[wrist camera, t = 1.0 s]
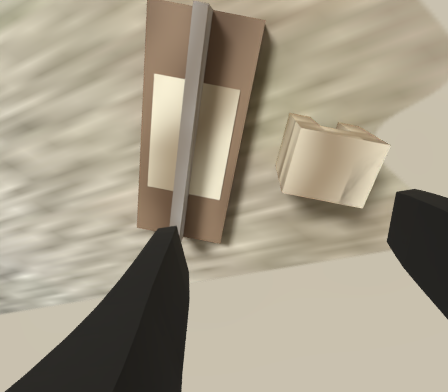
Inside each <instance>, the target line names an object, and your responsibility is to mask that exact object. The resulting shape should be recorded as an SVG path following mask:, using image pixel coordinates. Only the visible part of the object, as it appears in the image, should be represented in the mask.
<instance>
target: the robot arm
mask: <svg viewBox="0 0 448 392" xmlns="http://www.w3.org/2000/svg"><path fill="white" fill-rule="evenodd" d="M387 243H388V244H389V246H390V248H391V249H392V251H393V252H394V254H395V256H396V257H397V259H398V260H399V261H400V263H401V265H402V266H403V268H404V269H405V270H406V271H407V272H408V273H409V275H410V276H411V277H412V278H413V280H414V281H415V282H416V283H417V284H418V285H419V287H420V288H421V289H422V290H423V291H424V292H425V294H426V295H427V296H428V297H429V298H430V299H431V300H432V302H433V303H434V304H435V305H436V306H437V307H438V309H439V310H440V311H441V312H442V313H443V314H444V316H445V317H446V318H447V319H448V198H446V197H443V196H440V195H436V194H433V193H429V192H426V191H421V190H417V189H412V190H405V191H399V192H396V196H395V201H394V207H393V212H392V217H391V222H390V228H389V233H388V238H387ZM188 310H189V271H188V267H187V263H186V259H185V256H184V252H183V248H182V244H181V240H180V236H179V233H178V229H177V226H170V227H164V228H158V229H157V230H156V232H155V233H154V234H153V236H152V237H151V238H150V240H149V241H148V243H147V244H146V245H145V247H144V248H143V250H142V251H141V252H140V254H139V255H138V256H137V258H136V259H135V260H134V262H133V263H132V264H131V266H130V267H129V268H128V270H127V271H126V272H125V274H124V275H123V276H122V277H121V279H120V280H119V281H118V282H117V283H116V285H115V286H114V287H113V288H112V289H111V291H110V292H109V293H108V294H107V295H106V297H105V298H104V299H103V300H102V301H101V302H100V303H99V305H98V306H97V307H96V308H95V309H94V310H93V311H92V312H91V313H90V314H89V315H88V316H87V317H86V318H85V319H84V320H83V321H82V323H80V325H78V327H76V328H75V329H74V331H72V332H71V333H70V334H69V335H68V336H67V337H66V338H65V339H64V340H63V341H62V342H61V343H60V344H59V345H58V346H56V347H55V348H54V349H53V350H52V351H51V352H50V353H49V354H48V355H47V356H45V357H44V358H43V359H42V360H41V361H40V362H39V363H38V364H37V365H36V366H34V367H33V368H32V369H31V370H30V371H29V372H28V373H27V374H25V375H24V376H23V377H22V378H21V379H20V380H18V381H17V382H16V383H15V384H14V385H12V386H11V387H10V388H9V389H8V390H6V391H5V392H181V385H182V371H183V361H184V351H185V341H186V331H187V320H188Z"/></svg>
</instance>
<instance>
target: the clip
mask: <svg viewBox="0 0 448 392" xmlns="http://www.w3.org/2000/svg"><path fill="white" fill-rule="evenodd" d="M390 146H391V145H389V144H388V143H386V142H384V141H383V140H381V139H379V138H377V137H376V136H374V135H372V134H371V133H369V132H367V131H366V130H364V129H362V128H361V127H359V126H354V125H349V124H344V123H339V122H338V124H337V127H336V129H334V128H329V127H324V126H320V125H319V124H317V123H316V122H315V121H314V120H313V119H312V118H311V117H308V116H303V115H297V114H292V113H289V117H288V121H287V124H286V128H285V132H284V136H283V139H282V143H281V147H280V150H279V154H278V158H277V162H276V165H275V166H276V170H277V174H278V178H279V183H280V187H281V191H282V193H285V194H291V195H296V196H301V197H306V198H311V199H316V200H321V201H327V202H332V203H337V204H342V205H347V206H352V207H358V208H363V206H364V204H365V202H366V200H367V197H368V195H369V193H370V191H371V188H372V186H373V184H374V182H375V179H376V177H377V175H378V173H379V170H380V168H381V166H382V164H383V161H384V159H385V157H386V155H387V152H388V150H389V148H390Z"/></svg>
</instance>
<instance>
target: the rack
mask: <svg viewBox="0 0 448 392" xmlns="http://www.w3.org/2000/svg"><path fill="white" fill-rule="evenodd" d="M265 21H266V20H261V19H256V18H251V17H246V16H241V15H235V14H230V13H225V12H220V11H215V10H213V9H212V8H211V6H210V5H209V4H208V3H203V2H198V1H193V6H189V5H184V4H179V3H174V2H169V1H164V0H147V16H146V38H145V61H144V83H143V105H142V127H141V149H140V171H139V193H138V215H137V228H142V229H147V230H152V231H156V230H157V229H158V228H164V227H170V226H177V229H178V233H179V236H180V240H181V241H182V238H183V237H188V238H194V239H199V240H204V241H209V242H214V243H219V244H220V241H221V237H222V232H223V227H224V222H225V217H226V212H227V207H228V202H229V197H230V192H231V188H232V183H233V178H234V173H235V168H236V163H237V158H238V153H239V148H240V144H241V139H242V134H243V129H244V124H245V119H246V114H247V109H248V104H249V100H250V95H251V90H252V85H253V80H254V75H255V70H256V65H257V60H258V56H259V51H260V46H261V41H262V36H263V31H264V26H265Z"/></svg>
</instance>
